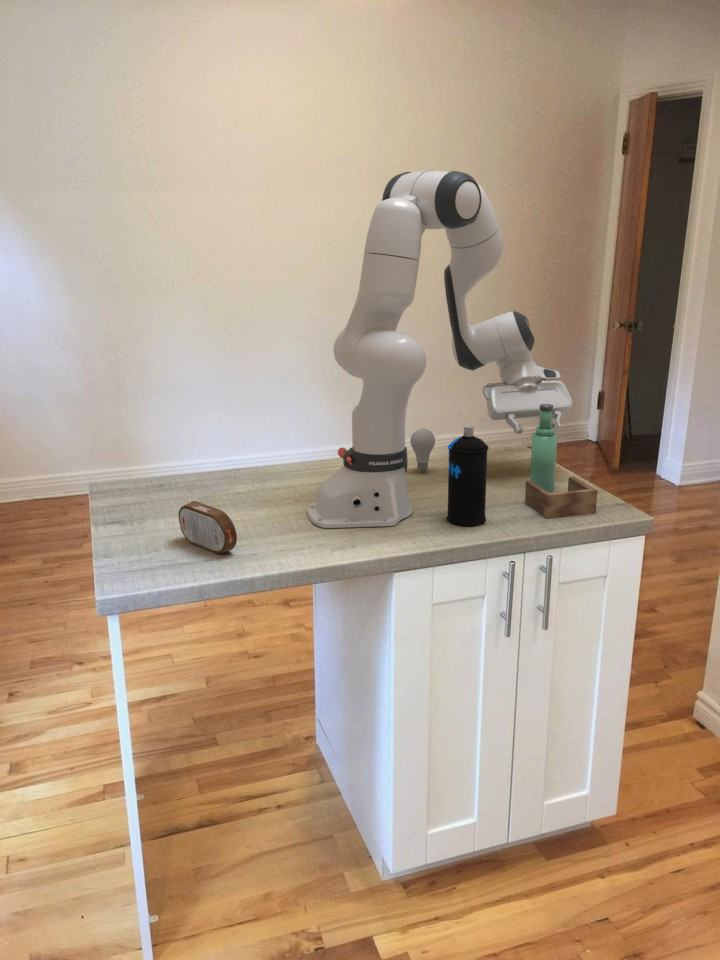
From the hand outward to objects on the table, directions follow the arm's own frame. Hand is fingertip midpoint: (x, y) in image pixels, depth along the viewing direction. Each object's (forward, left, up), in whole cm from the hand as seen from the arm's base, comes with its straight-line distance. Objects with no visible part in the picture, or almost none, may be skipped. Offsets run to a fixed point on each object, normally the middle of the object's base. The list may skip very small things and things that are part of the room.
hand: (538, 431), depth 181 cm
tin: (-77, -17, -13) cm, 80 cm away
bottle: (0, -3, -13) cm, 13 cm away
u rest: (-2, -15, -13) cm, 20 cm away
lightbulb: (-22, +18, -13) cm, 31 cm away
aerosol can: (-24, -17, -13) cm, 33 cm away
